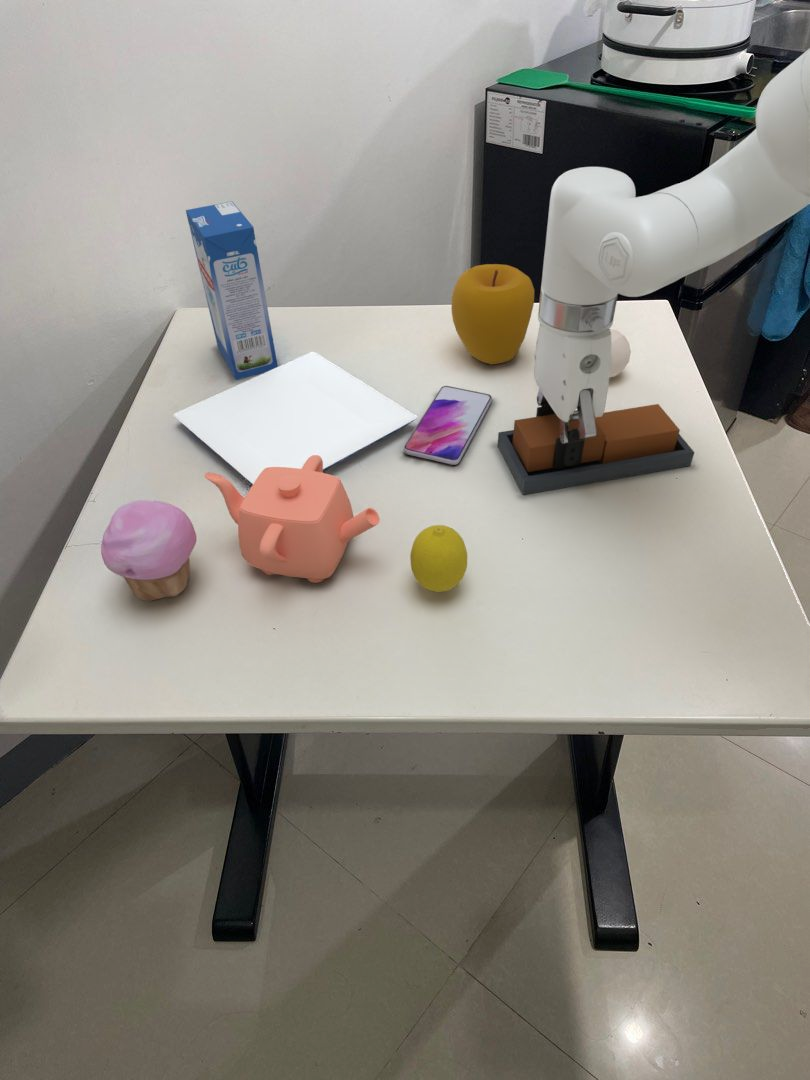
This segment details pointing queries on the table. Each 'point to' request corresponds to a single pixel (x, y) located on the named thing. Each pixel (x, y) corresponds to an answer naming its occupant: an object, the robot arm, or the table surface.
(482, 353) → the apple
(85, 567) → the table surface
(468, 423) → the smartphone
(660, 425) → the brown rectangular block
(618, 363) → the light bulb
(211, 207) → the milk carton
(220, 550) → the table surface
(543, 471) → the frame
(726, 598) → the table surface
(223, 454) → the plate
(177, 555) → the cupcake
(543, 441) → the brown brick
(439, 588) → the lemon
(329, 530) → the teapot
